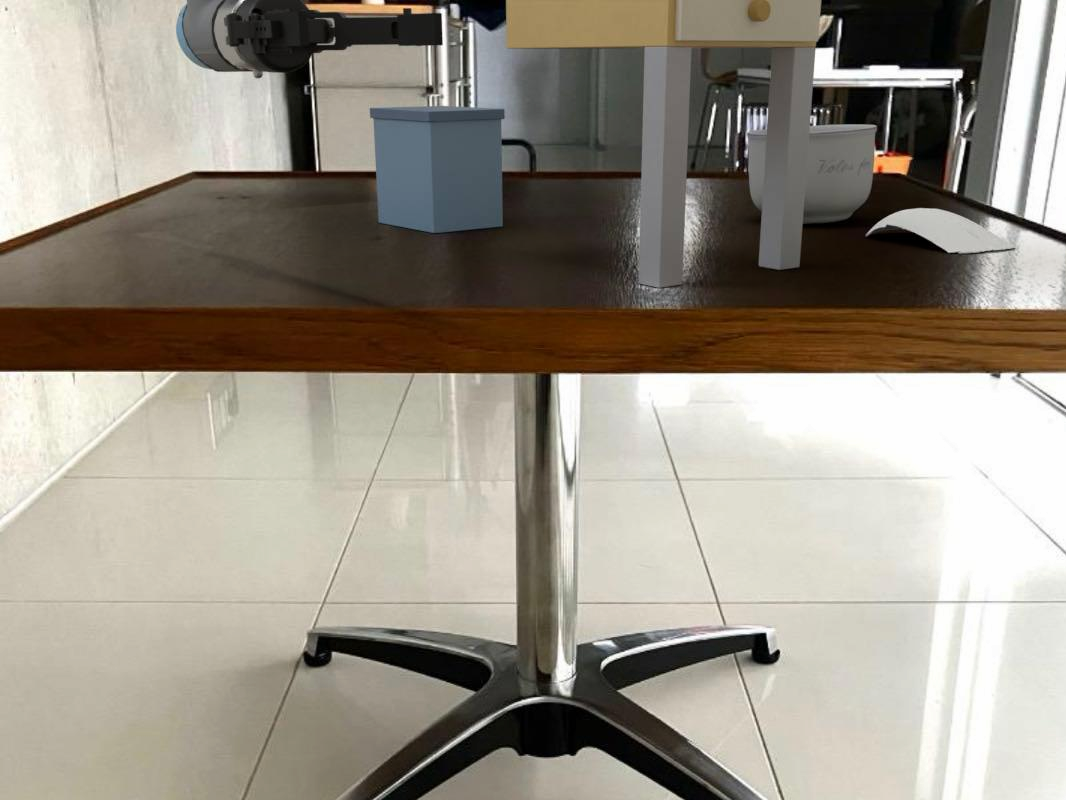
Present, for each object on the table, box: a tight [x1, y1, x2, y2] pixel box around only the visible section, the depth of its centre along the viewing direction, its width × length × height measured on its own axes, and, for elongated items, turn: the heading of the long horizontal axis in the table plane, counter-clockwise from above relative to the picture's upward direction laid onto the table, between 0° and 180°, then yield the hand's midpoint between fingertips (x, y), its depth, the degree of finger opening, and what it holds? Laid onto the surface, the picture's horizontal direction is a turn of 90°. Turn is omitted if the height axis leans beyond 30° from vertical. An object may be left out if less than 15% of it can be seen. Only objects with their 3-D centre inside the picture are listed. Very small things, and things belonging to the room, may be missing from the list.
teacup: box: [746, 123, 878, 225], centre depth 107 cm, size 14×11×8 cm
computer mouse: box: [865, 207, 1017, 254], centre depth 94 cm, size 7×12×2 cm, turn 26°
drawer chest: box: [505, 0, 822, 289], centre depth 81 cm, size 17×13×22 cm
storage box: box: [369, 105, 506, 234], centre depth 104 cm, size 9×7×10 cm
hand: (373, 29), depth 107 cm, fingers open, 13 cm apart
